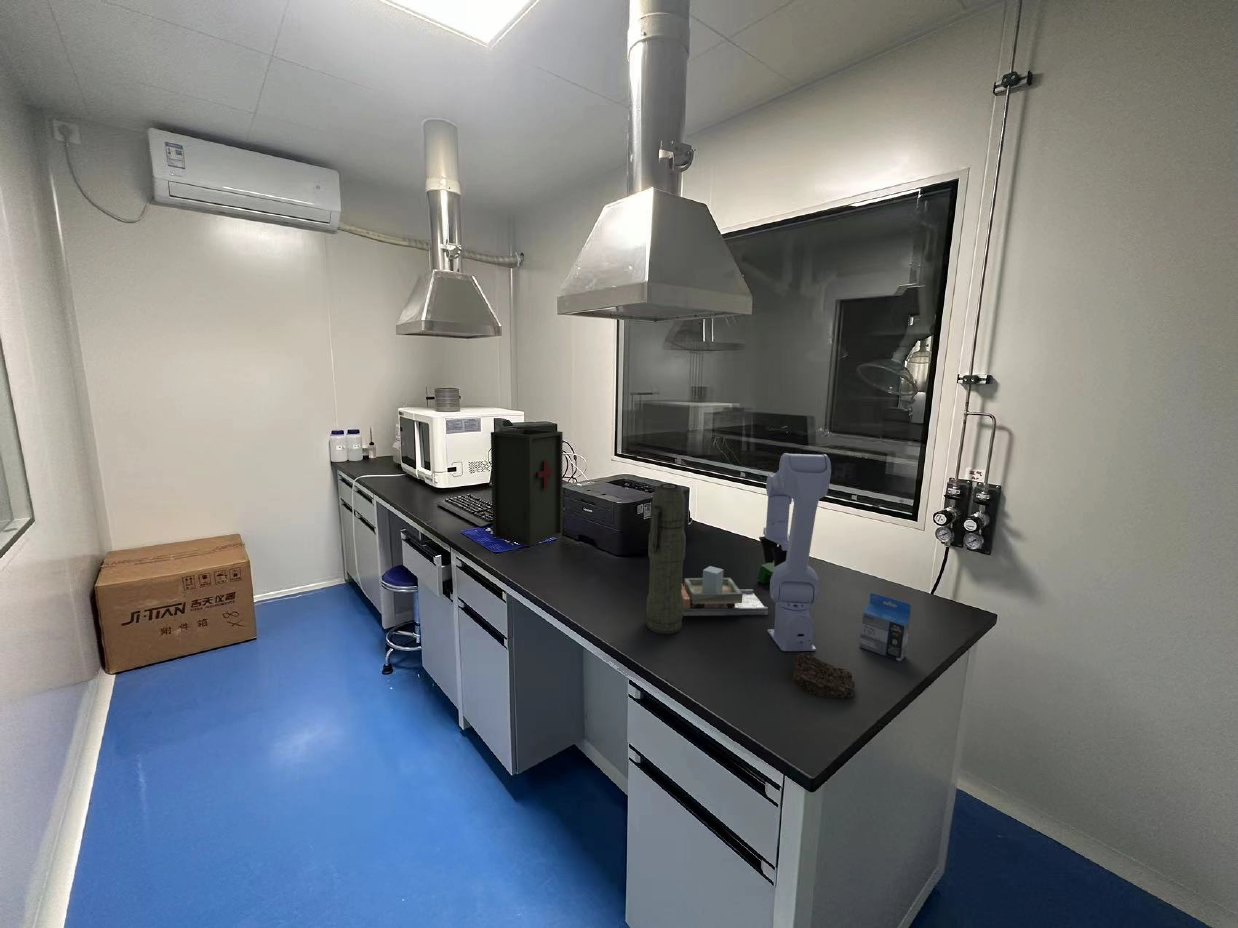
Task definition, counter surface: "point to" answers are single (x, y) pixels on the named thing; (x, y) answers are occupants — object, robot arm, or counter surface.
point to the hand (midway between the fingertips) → (774, 567)
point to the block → (712, 580)
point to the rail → (725, 606)
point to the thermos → (666, 559)
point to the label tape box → (885, 627)
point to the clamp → (766, 572)
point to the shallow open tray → (727, 595)
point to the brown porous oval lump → (822, 677)
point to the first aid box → (526, 485)
